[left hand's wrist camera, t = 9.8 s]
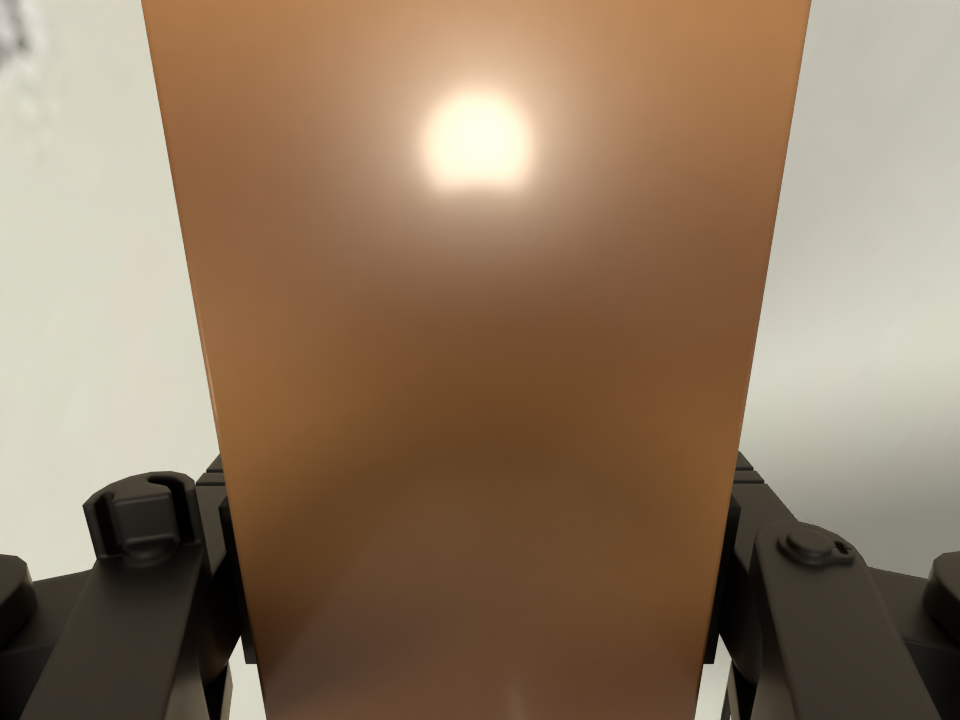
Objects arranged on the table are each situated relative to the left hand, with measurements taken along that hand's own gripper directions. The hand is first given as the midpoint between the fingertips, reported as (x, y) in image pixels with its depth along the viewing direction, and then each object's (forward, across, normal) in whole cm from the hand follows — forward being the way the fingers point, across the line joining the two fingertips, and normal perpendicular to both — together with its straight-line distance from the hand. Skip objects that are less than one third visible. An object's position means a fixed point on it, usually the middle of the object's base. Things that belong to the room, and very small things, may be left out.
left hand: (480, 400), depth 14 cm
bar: (+1, 0, -24) cm, 24 cm away
